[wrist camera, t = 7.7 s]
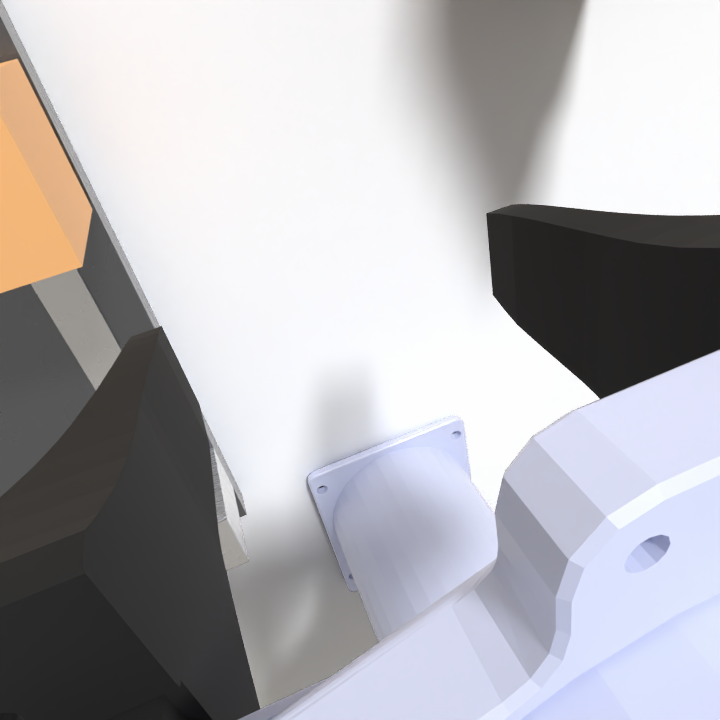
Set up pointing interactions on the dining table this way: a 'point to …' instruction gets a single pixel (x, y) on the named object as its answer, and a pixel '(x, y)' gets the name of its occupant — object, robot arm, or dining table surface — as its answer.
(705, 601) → the robot arm
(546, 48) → the dining table surface
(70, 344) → the bolt plate
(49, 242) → the orange block with rod
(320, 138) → the dining table surface
